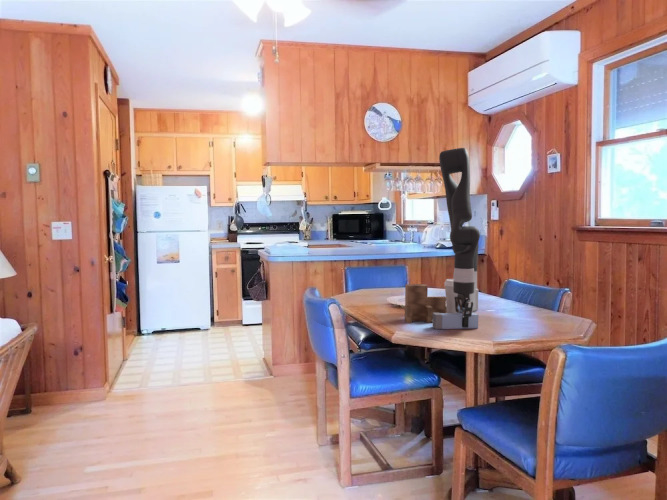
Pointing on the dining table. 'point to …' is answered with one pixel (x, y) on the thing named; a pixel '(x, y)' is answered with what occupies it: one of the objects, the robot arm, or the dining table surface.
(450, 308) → the coffee cup
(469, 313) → the robot arm
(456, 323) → the grey rectangular bar
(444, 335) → the dining table surface
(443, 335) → the dining table surface
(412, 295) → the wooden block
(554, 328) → the dining table surface
